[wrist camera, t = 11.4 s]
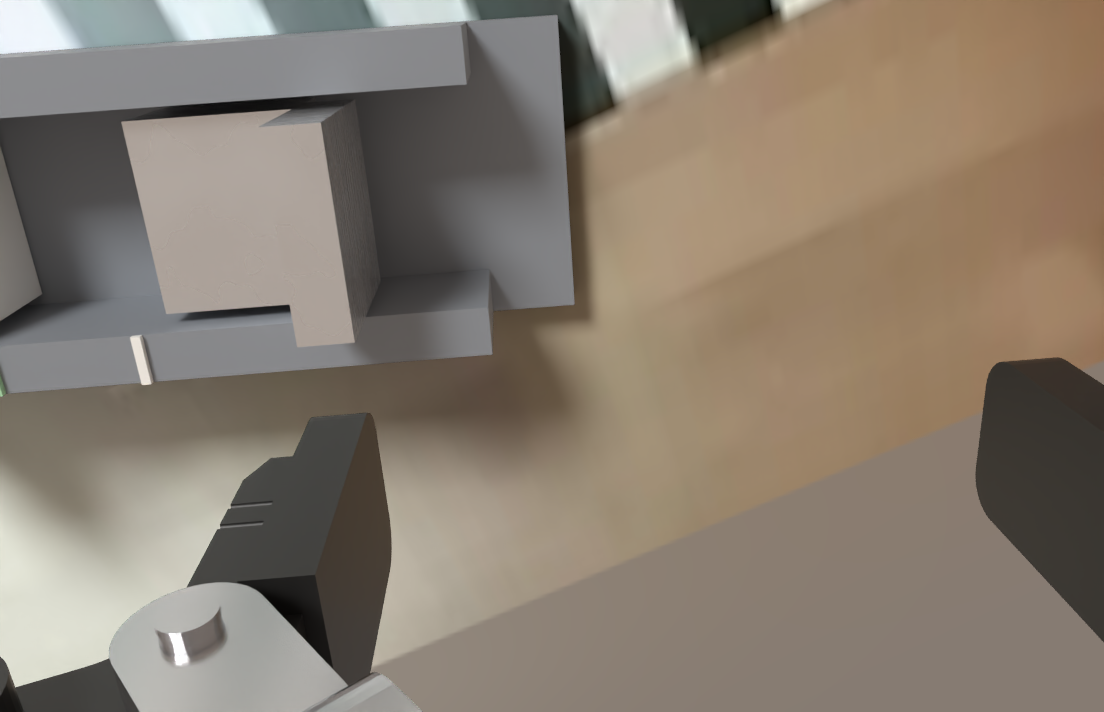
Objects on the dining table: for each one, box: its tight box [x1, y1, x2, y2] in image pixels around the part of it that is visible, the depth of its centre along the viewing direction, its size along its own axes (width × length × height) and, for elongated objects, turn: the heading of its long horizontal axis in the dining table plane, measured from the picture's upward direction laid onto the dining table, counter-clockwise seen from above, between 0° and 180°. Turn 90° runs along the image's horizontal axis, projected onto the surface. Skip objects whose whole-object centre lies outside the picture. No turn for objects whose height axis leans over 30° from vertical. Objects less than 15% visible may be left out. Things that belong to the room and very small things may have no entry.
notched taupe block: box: [121, 97, 381, 347], centre depth 28 cm, size 6×7×8 cm
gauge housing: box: [0, 15, 575, 396], centre depth 28 cm, size 10×26×9 cm, turn 94°
